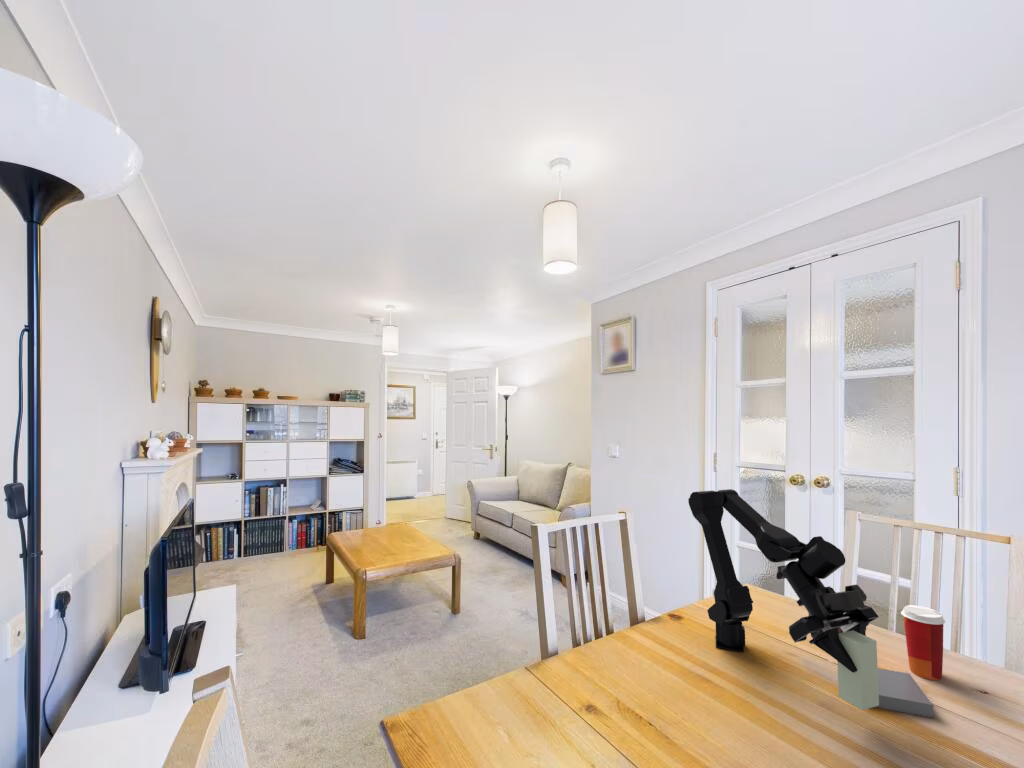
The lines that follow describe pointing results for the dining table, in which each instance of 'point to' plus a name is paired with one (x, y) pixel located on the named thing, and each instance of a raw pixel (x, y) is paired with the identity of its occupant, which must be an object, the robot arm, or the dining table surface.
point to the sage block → (859, 671)
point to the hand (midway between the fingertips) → (864, 669)
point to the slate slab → (902, 693)
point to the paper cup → (924, 641)
